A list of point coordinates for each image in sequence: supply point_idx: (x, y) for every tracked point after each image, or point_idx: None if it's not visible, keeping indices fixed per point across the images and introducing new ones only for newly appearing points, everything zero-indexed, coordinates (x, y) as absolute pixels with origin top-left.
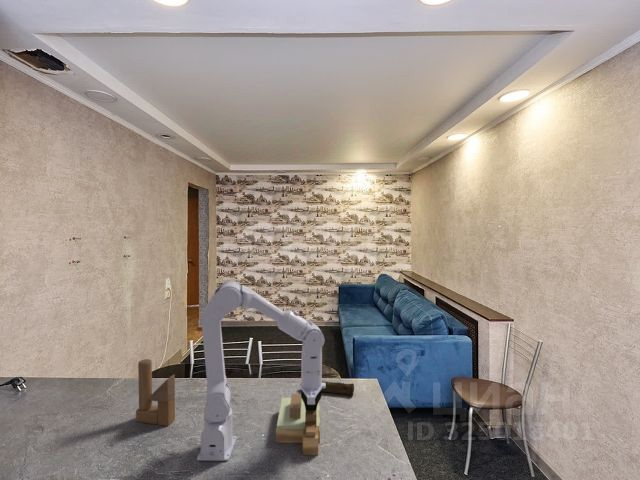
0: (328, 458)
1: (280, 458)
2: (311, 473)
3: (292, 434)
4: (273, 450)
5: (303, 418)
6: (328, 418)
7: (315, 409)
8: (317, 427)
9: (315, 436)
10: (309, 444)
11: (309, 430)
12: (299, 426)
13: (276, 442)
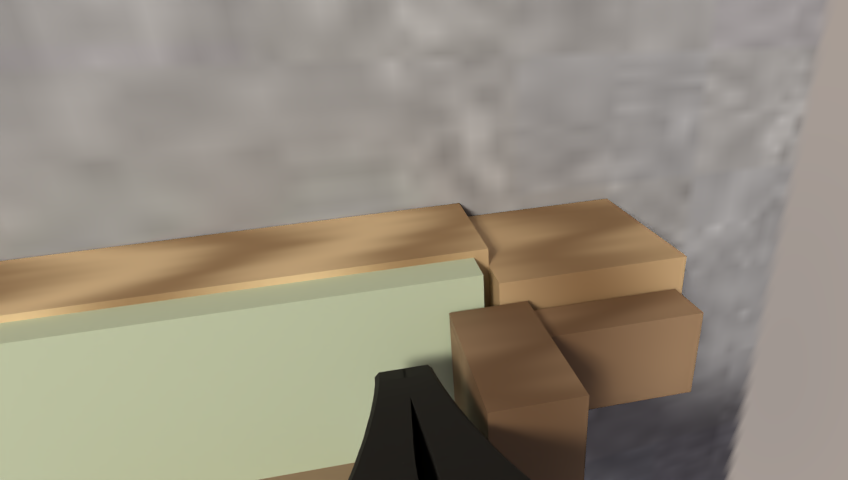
0: (647, 115)
1: (620, 414)
2: (774, 219)
3: None
4: None
5: (358, 436)
6: (30, 158)
7: (473, 432)
8: (509, 288)
9: (657, 285)
10: None
11: (669, 368)
12: None
13: None
